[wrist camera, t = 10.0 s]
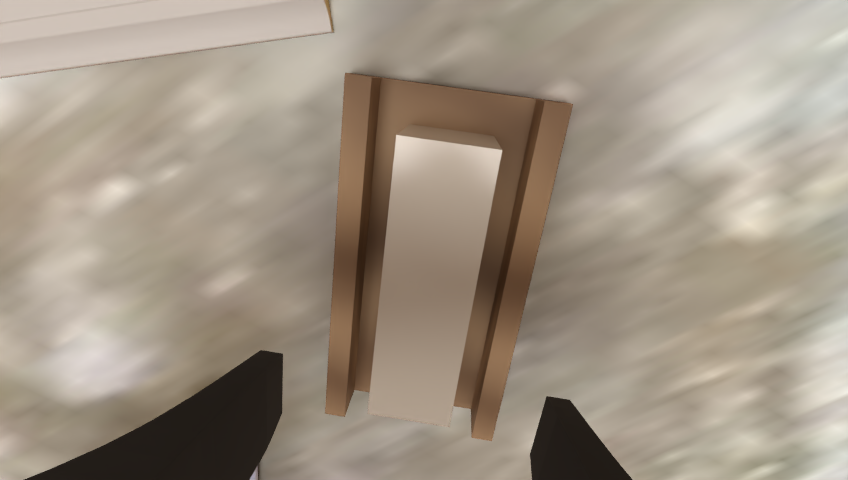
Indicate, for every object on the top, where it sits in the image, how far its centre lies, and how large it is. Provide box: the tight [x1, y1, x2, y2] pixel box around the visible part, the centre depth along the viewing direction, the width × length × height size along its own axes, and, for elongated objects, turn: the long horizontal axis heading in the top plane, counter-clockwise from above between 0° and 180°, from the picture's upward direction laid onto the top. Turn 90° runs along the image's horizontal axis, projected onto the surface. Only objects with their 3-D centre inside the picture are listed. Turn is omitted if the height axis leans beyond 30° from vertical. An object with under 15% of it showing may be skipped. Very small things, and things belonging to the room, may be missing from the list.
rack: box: [325, 73, 573, 441], centre depth 20 cm, size 16×9×3 cm, turn 173°
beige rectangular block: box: [368, 124, 502, 427], centre depth 18 cm, size 12×4×4 cm, turn 173°
